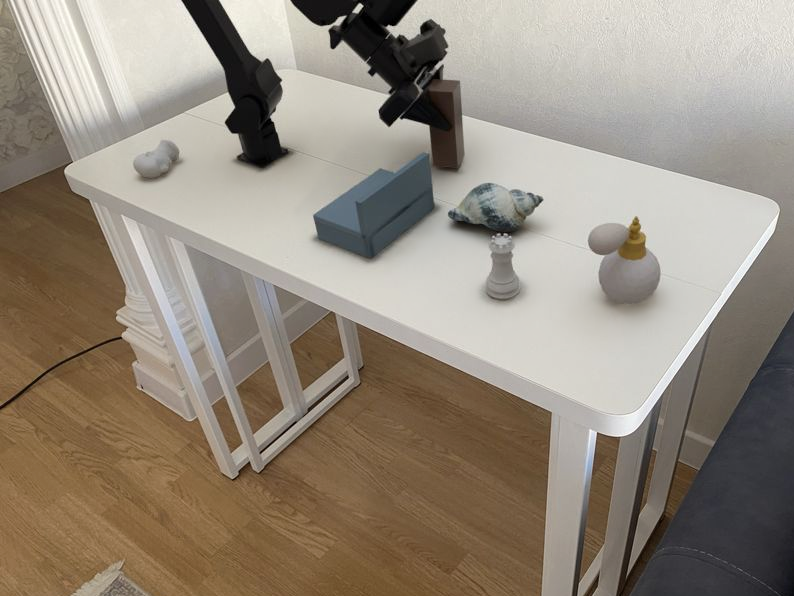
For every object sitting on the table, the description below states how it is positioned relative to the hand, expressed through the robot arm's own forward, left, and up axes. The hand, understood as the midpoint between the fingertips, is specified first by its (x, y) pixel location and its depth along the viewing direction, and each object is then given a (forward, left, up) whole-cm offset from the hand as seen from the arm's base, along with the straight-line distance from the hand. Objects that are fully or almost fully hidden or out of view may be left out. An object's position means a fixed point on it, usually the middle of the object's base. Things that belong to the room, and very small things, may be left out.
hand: (454, 123), depth 113 cm
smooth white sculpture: (-43, -25, -8) cm, 51 cm away
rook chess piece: (+24, -23, -8) cm, 34 cm away
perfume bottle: (+38, -17, -8) cm, 42 cm away
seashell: (+15, -11, -8) cm, 20 cm away
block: (-1, 0, -7) cm, 7 cm away
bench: (-1, -19, -7) cm, 21 cm away
